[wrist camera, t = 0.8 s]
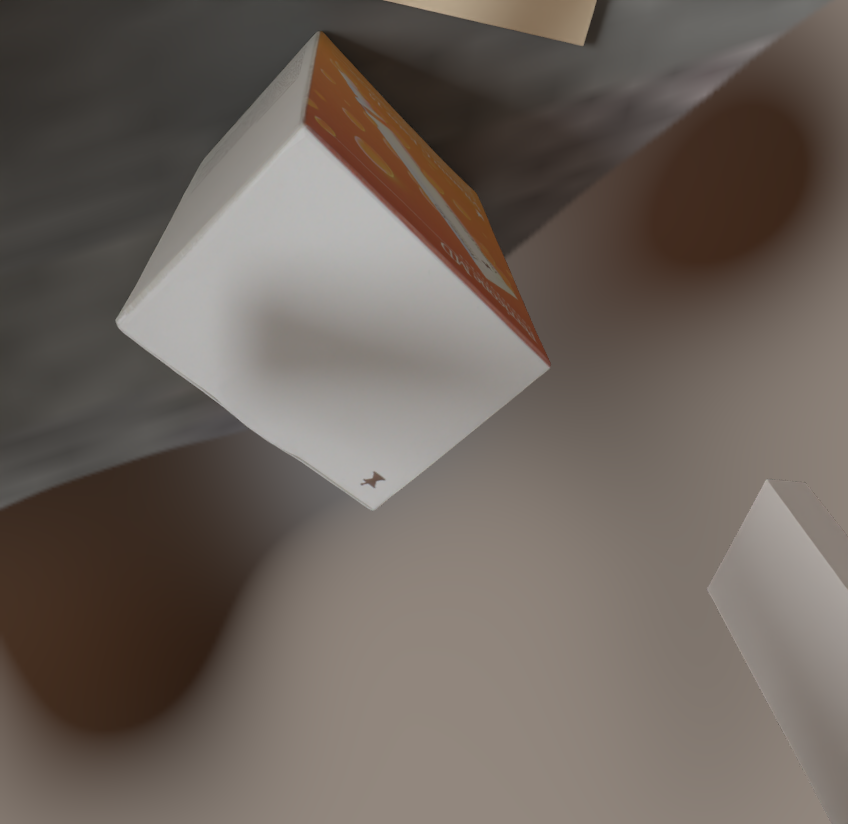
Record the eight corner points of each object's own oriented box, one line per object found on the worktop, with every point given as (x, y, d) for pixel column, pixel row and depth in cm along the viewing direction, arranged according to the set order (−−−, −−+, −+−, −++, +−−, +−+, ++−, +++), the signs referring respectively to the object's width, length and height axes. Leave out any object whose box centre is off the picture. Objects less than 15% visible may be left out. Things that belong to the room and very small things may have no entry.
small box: (480, 192, 29) (561, 372, 18) (362, 303, 31) (372, 522, 20) (319, 19, 25) (301, 117, 15) (197, 158, 28) (104, 333, 17)
